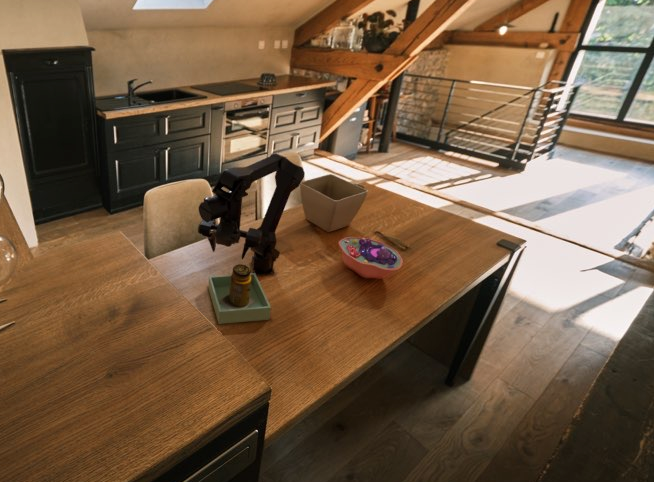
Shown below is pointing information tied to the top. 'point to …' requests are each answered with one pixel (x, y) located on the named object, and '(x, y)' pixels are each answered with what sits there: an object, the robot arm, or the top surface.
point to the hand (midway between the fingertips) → (228, 254)
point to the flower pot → (331, 201)
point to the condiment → (239, 288)
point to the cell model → (369, 257)
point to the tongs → (394, 240)
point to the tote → (253, 312)
